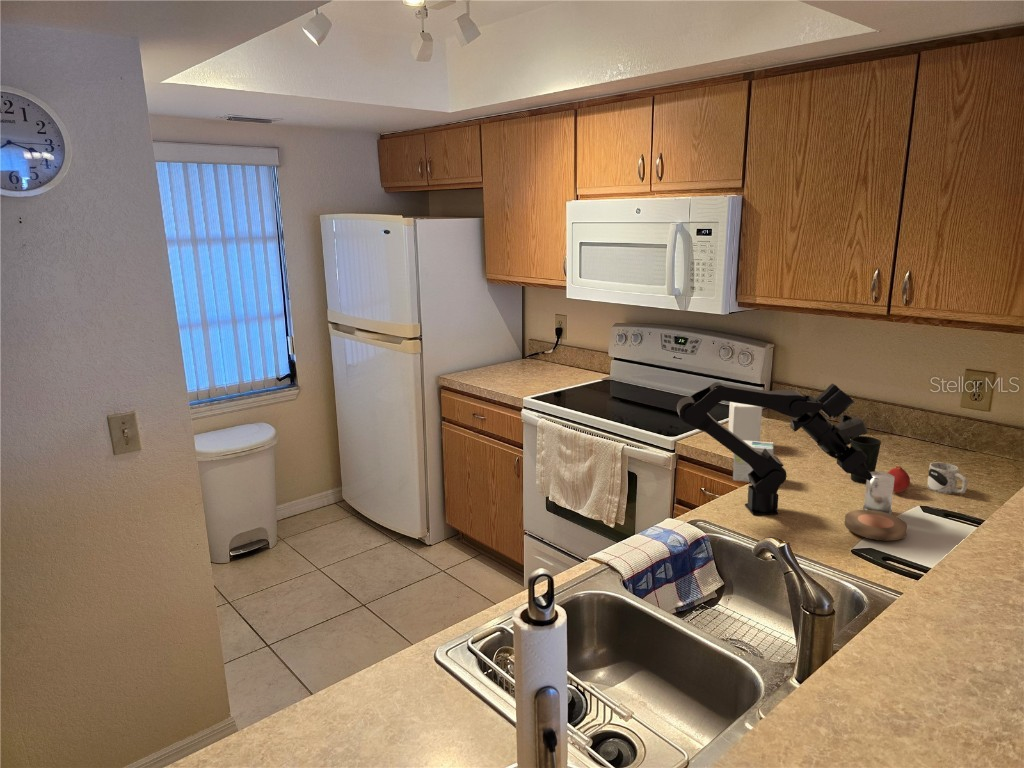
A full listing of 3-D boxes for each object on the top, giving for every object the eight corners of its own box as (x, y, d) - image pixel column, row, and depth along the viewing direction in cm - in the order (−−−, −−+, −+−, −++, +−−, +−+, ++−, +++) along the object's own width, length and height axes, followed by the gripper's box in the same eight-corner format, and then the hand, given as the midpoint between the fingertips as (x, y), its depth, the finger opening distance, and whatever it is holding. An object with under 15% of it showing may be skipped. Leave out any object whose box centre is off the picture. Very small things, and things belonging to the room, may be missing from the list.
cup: (852, 473, 196) (856, 434, 193) (880, 479, 191) (884, 439, 188) (842, 480, 191) (846, 440, 188) (871, 487, 186) (875, 446, 183)
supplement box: (760, 451, 218) (762, 406, 214) (731, 450, 219) (733, 406, 216) (754, 442, 226) (757, 399, 223) (727, 441, 228) (729, 399, 224)
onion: (886, 487, 185) (889, 460, 183) (910, 492, 182) (913, 464, 180) (881, 494, 181) (884, 466, 179) (906, 498, 177) (909, 470, 175)
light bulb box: (772, 476, 195) (774, 441, 193) (771, 485, 189) (774, 448, 187) (733, 473, 199) (735, 438, 197) (732, 480, 193) (733, 445, 191)
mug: (921, 487, 185) (923, 464, 183) (938, 483, 187) (941, 460, 186) (955, 500, 176) (959, 476, 174) (973, 496, 178) (976, 472, 177)
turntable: (862, 545, 152) (863, 533, 152) (834, 521, 165) (834, 510, 164) (918, 543, 153) (919, 531, 152) (886, 519, 165) (887, 508, 165)
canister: (871, 518, 166) (875, 480, 164) (857, 508, 172) (861, 471, 170) (896, 517, 166) (901, 479, 164) (882, 507, 172) (886, 470, 170)
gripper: (861, 418, 155) (907, 463, 156) (833, 398, 173) (874, 439, 174) (823, 450, 158) (868, 494, 159) (799, 427, 176) (840, 467, 177)
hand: (863, 472), depth 167 cm, fingers open, 9 cm apart
